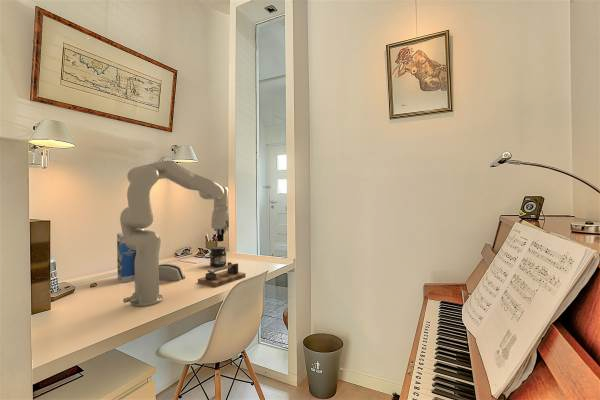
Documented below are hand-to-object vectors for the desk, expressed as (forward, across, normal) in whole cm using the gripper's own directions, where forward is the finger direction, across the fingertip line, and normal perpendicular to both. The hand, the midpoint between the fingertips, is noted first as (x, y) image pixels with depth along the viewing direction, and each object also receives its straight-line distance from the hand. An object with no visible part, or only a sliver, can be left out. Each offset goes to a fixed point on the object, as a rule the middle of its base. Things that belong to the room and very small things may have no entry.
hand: (220, 241), depth 165 cm
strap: (+16, +2, 0) cm, 16 cm away
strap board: (+21, +2, 0) cm, 21 cm away
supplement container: (+21, -25, +21) cm, 39 cm away
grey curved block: (+22, -24, -16) cm, 36 cm away
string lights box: (+22, -44, -28) cm, 57 cm away
